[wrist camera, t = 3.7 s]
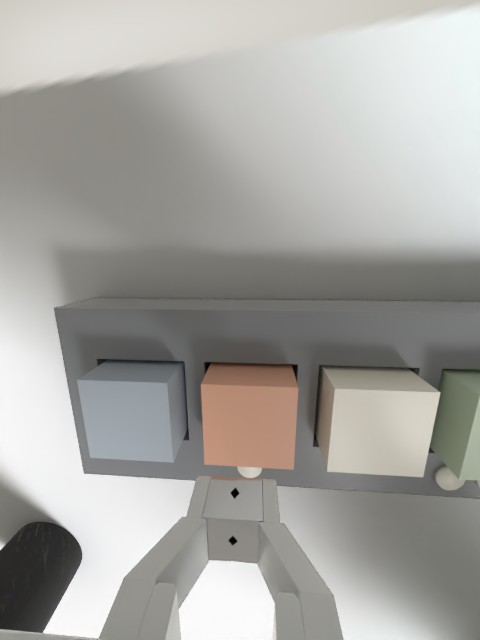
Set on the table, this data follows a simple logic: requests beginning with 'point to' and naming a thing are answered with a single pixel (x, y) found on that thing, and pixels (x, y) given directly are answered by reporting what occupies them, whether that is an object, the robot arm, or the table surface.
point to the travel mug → (35, 575)
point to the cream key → (374, 420)
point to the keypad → (272, 348)
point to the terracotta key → (249, 415)
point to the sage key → (458, 423)
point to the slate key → (135, 409)
